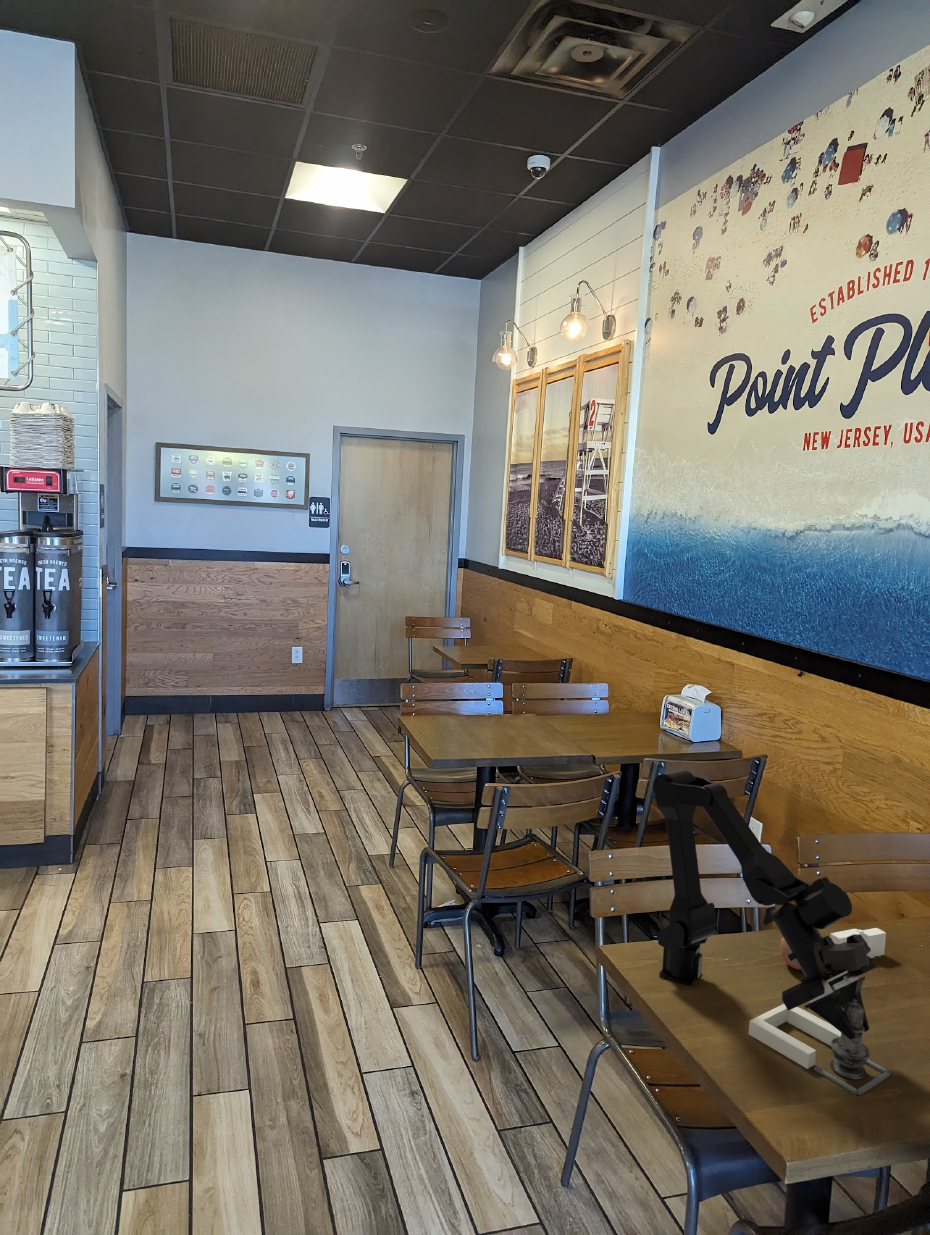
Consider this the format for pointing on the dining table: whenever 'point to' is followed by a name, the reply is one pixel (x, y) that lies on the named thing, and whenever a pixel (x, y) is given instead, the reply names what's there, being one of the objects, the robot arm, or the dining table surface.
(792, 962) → the fruit
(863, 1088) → the frame
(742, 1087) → the dining table surface
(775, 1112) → the dining table surface
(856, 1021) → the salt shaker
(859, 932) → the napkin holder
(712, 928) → the robot arm
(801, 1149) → the dining table surface
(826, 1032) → the u-shaped bracket
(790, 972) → the dining table surface
